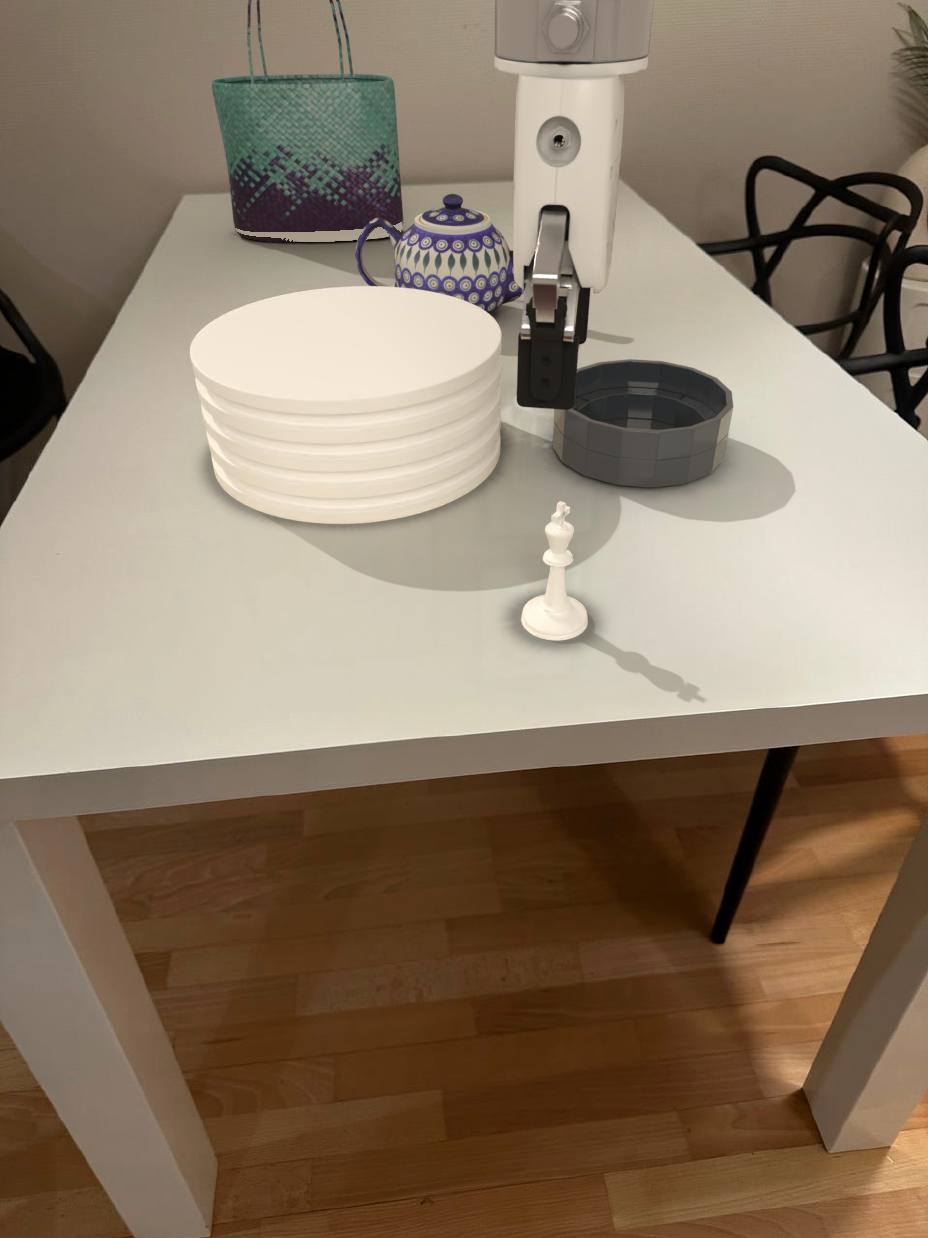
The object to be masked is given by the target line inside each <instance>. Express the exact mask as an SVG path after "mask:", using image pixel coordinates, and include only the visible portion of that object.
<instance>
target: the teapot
mask: <svg viewBox="0 0 928 1238" xmlns="http://www.w3.org/2000/svg"><path fill="white" fill-rule="evenodd" d="M463 203H464V198H463V197H462V196H461V195H459V194H458V193H457V194H456V193H449V194H447V195H445V196H444V197H442V204H443V205H444V206H443V207H438V208H433V209H430V210H429V209H428V210H426V211H424V212H423V213H420V214H417V215H416V216H415V217H414V223H413V224H412V225H410V226H409V227H408V228H406V229H405V231H401V232H400V231H399V230H397V229H396V228H395V227H394V226H393V225H392V224H390V223H389V222H388V221H386V220H385V219H382V218H375V219H374V220H372V221H371V222H369V223H368V224H367V225H366V227H365V228H364V229H363V231H362V232H361V234H360V236H359V238H358V241H356V245H355V246H356V247H355V253H354V255H355V262H356V267H357V270H358V273H359V274H360V276H361V279H363V281H364V282H365V283H366V284H367V286H384V287H400V288H410V289H418V290H425V291H431V292H436V293H440V294H445V295H448V296H452V297H455V298H459V299H461V300H464V301H467V302H469V303H471V304H474V305H476V306H478V307H479V308H481V309H483V310H484V311H486V312H487V313H489V314H490V315H491V313H494V312H495V311H497V310H498V309H500V307H501V306H502V305H505V304H508V303H512V302H514V301H516V300H518V299H519V298H521V296H522V295H523V294H524V293H525V290H523V289H522V288H521V287H519V285H518V284H517V283H516V282H515V280H514V263H513V249H512V250H511V248H510V247H509V244H508V242H507V240H506V238H505V237H504V235H503V234H502V232H501V231H500V230H498V229H497V228H496V227H495V226H494V224H493V223H492V218H491V216H489V215H488V214H487V213H485V212H483V211H480V210H475V209H470V208H465V207H462V205H463ZM377 227H382V228H383V229H385V230H386V231H387V233H388V234H389V237H388V238H389V239H390V243H391V246H392V248H393V250H394V267H393V268H394V277H395V282H394V283H393V284H385V283H382V282H379V281H377V280H376V279H375V278H374V277H373V276H372V275H371V274H370V273H369V272H368V270H367V269H366V266H365V264H364V258H363V249H364V246H365V243H366V242H367V241H366V239H367V237H368V236H369V234H370V233H371V232H372V231H373V230H374V229H375V228H377Z"/></svg>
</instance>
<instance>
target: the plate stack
mask: <svg viewBox="0 0 928 1238" xmlns="http://www.w3.org/2000/svg"><path fill="white" fill-rule="evenodd" d="M502 335H503V333H502V329H501V327H500V325H499V323H498V322H497V320H496V319H495V317H493V315H491V313H490V314H489V313H487V312H486V311H484V310H483V309H481V308H479V307H478V306H476V305H474V304H471V303H469V302H467V301H464V300H461V299H459V298H455V297H452V296H448V295H445V294H440V293H436V292H431V291H425V290H418V289H410V288H400V287H384V286H369V285H362V286H361V285H355V286H354V285H353V286H351V285H350V286H336V287H335V286H334V287H325V288H324V287H323V288H316V289H315V288H314V289H308V290H301V291H296V292H295V291H294V292H289V293H285V294H279V295H276V296H271V297H267V298H264V299H260V300H257V301H254V302H251V303H248V304H245V305H242V306H240V307H237V308H235V309H233V310H230V311H228V312H226V313H224V314H222V315H219V317H216V318H215V319H213V320H211V321H210V322H209V323H207V324H206V325H205V326H203V327H202V328H201V329H200V330H199V331H198V332H197V334H196V335H195V336H194V338H193V339H192V341H191V343H190V347H189V359H190V363H191V366H192V367H191V368H192V372H193V374H194V375H195V386H196V391H197V396H198V399H199V401H200V410H201V415H202V419H203V424H204V428H205V431H206V432H205V433H206V434H205V435H206V439H207V444H208V449H209V451H210V454H211V462H212V467H213V472H214V476H215V478H216V480H217V482H218V484H219V485H220V486H221V488H222V489H223V490H224V491H225V492H226V494H228V495H229V496H231V498H233V499H235V500H236V501H238V502H239V503H241V504H243V505H245V506H246V507H249V508H250V509H253V510H255V511H258V512H260V513H264V514H267V515H269V516H273V517H277V518H281V519H287V520H291V521H296V522H297V521H298V522H302V523H303V522H304V523H314V524H327V525H348V524H349V525H352V524H354V525H355V524H366V523H376V522H384V521H385V522H386V521H390V520H396V519H402V518H406V517H411V516H414V515H418V514H421V513H424V512H428V511H431V510H434V509H437V508H440V507H442V506H444V505H447V504H449V503H451V502H454V501H456V500H458V499H461V498H462V497H464V496H465V495H467V494H468V493H470V492H472V491H473V490H475V489H476V488H477V487H478V486H479V485H481V484H482V483H483V482H484V481H485V480H486V479H487V478H488V477H489V476H490V475H491V474H492V473H493V472H494V470H495V468H496V466H497V464H498V462H499V460H500V456H501V426H502V423H501V422H502V412H501V403H502V386H501V385H502V384H501V380H502V358H501V355H502V348H503V347H502V344H503V343H502V342H503V339H502V338H503V336H502Z"/></svg>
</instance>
